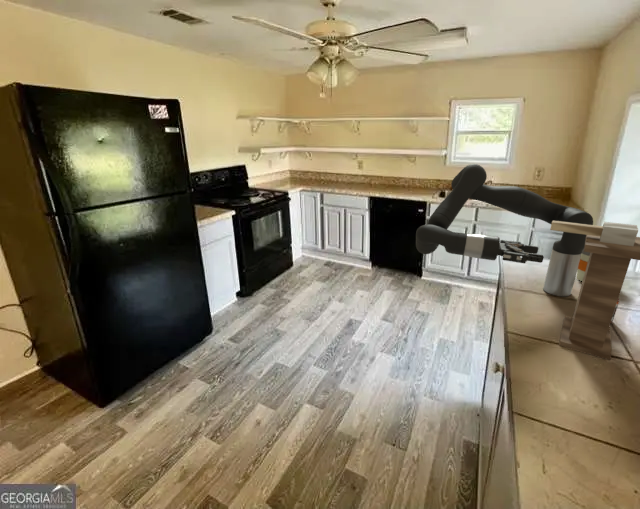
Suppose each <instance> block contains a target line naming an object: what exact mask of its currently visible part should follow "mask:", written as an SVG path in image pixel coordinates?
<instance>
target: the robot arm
mask: <svg viewBox="0 0 640 509" xmlns="http://www.w3.org/2000/svg"><path fill="white" fill-rule="evenodd" d="M487 177H488V176H487V172H486V169H485V168H484V167H483V166H481V165H480V164H477V163H470V164H468V165H466V166H464V167H463V168H462V169H461V170H460V171H459V172H458V173H457V174H456V175H455V177H453V179H452V180H451V189H452V190H451V191H450V192H449V193H448V194H447V196H446V197H445V198H444V199H443V200H442V201H441V202H440V204H438V206H437V207H436V209H435V210H433V213H432V214H431V215H430V217H429V218H428V221H427V224H423V225H420V226H418V228H417V229H416V233H415V247H416V249H417V251H418V253H420V254H422V255H430V254H432V253H434V252H435V251H436V250H437V249H438V248H439V246H442V247H444V251H445V252H446V253H448V254H452V255H458V256H466V257H469V258H472V259H474V258H475V259H481V260H486V261H487V260H488V261H496V260H497V257H498V256H499V257H500V256H501V257H502V260H503V261H506V262H514V263H520V264H526V262H532V263H539V264H540V263H541V264H542V263H543V261H544V256H545V255H543V254H539V253H538V252H539V247H538V246H537V245H535V246H534V245H528V244H527V245H526V244H524V243H522V242H521V241H515V240H513V241H512V240H506V239H505V240H504V239H500V237H499V236H496V235H487V234H479V233H464V232H457V231H456V232H455V231H452V230H449V228H450V226H451V225H452V224H453V221H454V220H455V219H456V217H457V216H458V215H459V213H460V211H461V210H462V209H463V207H464V205H465V204H466V203H467V201H468V200H469V199H471V200H474V201H477V202H478V201H479V202H482V203H485V204H488V205H491V206H494V207H498V208H500V209H503V210H506V211H508V212H510V213H513V214H515V215H518V216H521V217H526V218H531V219H537V220H540V221H543V222H545V223H548V224H549V225H551V224H552V221H561V222H570V223H578V224H587V225H594V218H593V216H592V215H591V214H590V213H589V212H587V211H585V210H582V209H578V208H575V207H571V206H567V205H563V204H559V203H555V202H552V201H550V200H548V199H546V198H545V197H543V196H542V195H540V194H538V193H537V192H536V193H535V192H534V191H531V190H529V189H526V188H523V187H520V186H516V185H514V186H513V185H511V186H509V185H505V186H504V185H503V186H502V185H501V186H496V185H495V186H492V185H488V184H486V182H487ZM585 240H586V235H585V234H577V233H569V232H562V236H561V239H559V240H555V241H554V243H553V245H552V248H551V249H552V250H551V253H550V257H549V262H548V266H547V270H546V271H547V272H546V276H545V279H544V283H543V288H542V289H543V290H544V292H545V293H548V294H550V295H553V296H558V297H568V296H571V295H572V290H573V288H574V284H575V281H576V278H577V269H578V266H579V262H580V258H581V254H582V251H583V249H584V247H585Z"/></svg>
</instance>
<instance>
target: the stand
mask: <svg viewBox="0 0 640 509" xmlns="http://www.w3.org/2000/svg"><path fill="white" fill-rule="evenodd" d="M584 252H590V256H589V260H588V263H587V267H586V270H585V274H584V278H583V281H582V282H581V286H580V288H579V292H578V296H577V300H576V304H575V307H574V311H573V314H572V316H569V315H565V316H564V318H563V323H562V328H561V332H560V337H559V338H560V339H559V343H558V345H559V346H560V347H563V348H567V349H571V350H573V351H577V352H581V353H584V354H587V355H591V356H594V357H598V358H601V359H605V360H607V361H610V360H611V357H612V339H611V333H612V332H611V326H610V325H611V323H610V322H611V319H612V316H613V313H614V310H615V307H616V304H617V301H618V298H619V299H620V294H621V291H622V288H623V285H624V282H625V279H626V276H627V274H628V270H629V267H630V263H631V260H635V261H640V236H636V240H635V243H634V246H627V245H620V244H613V243H606V242H600V236H592V235H586V240H585V247H584Z"/></svg>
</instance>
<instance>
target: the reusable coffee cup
mask: <svg viewBox="0 0 640 509" xmlns="http://www.w3.org/2000/svg"><path fill="white" fill-rule="evenodd" d="M589 256H590V252H584V249H583V251H582V254H581V258H580V262H579V266H578V269H577V273H576V280H577V281H579V280H580V281H579V282H581V281H583V278H584V274H585V270H586V267H587V263H588V260H589Z"/></svg>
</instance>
